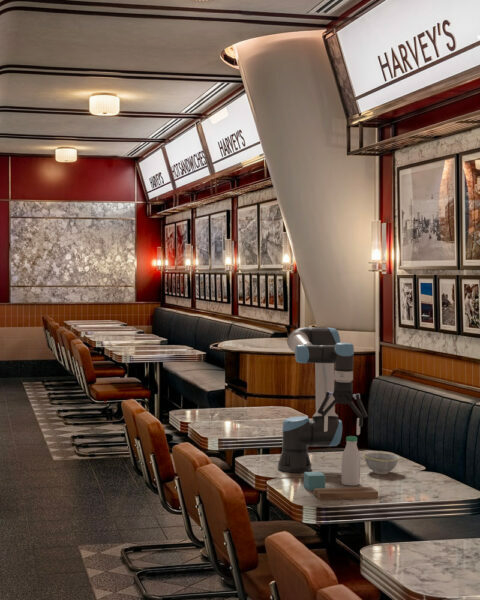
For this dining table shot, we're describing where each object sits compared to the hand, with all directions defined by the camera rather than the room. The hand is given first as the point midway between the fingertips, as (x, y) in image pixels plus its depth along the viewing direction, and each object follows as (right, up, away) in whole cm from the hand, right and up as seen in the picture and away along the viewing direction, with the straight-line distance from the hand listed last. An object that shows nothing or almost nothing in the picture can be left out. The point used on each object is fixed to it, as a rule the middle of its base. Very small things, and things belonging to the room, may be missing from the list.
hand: (341, 432), depth 360 cm
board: (0, -24, -9) cm, 26 cm away
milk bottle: (+5, -24, +12) cm, 27 cm away
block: (-11, -23, +3) cm, 26 cm away
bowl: (+21, -23, +35) cm, 47 cm away
